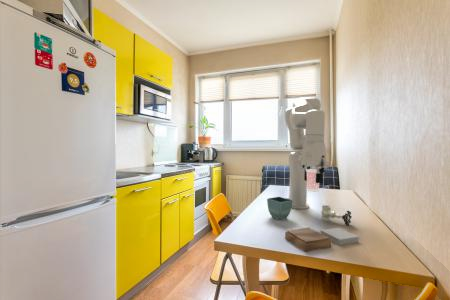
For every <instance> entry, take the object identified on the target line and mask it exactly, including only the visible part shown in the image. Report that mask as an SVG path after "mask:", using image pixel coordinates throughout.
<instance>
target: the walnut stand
mask: <svg viewBox="0 0 450 300" xmlns="http://www.w3.org/2000/svg"><path fill="white" fill-rule="evenodd" d="M284 233H285V234H284V236H285V237H284V239H285V240H287V241H289V242H291V243H292V244H293V245H294V246H296V247H298V248H299V249H301V250H302V251H304V252H307V253H308V252H311V251H316V250H317V251H318V250H322V249H327V248H331V247H332V241H331V240H330V239H329V238H328V237H326V236H324V235H323V234H321V232H319V231H316V230H315V229H313V228H310V227H303V228H296V229H289V230H287V231H285V232H284Z"/></svg>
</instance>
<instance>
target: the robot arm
mask: <svg viewBox="0 0 450 300" xmlns="http://www.w3.org/2000/svg"><path fill="white" fill-rule="evenodd" d="M321 107H322V103H321V100H320V99H319V98H318V97H300V98H299V97H298V98H297V99H295V100H294V101H293V103H292V107H288V108H287V109H286V110H285V113H284V120H285V123H286V127H287V129H288V132H289V145H290V149H291V150H292V152H290V153H289V155H288V167H289V189H288V190H289V192H288V196H287V197H285V198H286V199H290V200H293V201H292V207H291V209H295V210H296V209H297V210H307V209H309V208H310V204H308V203H307V201H308V199H307V197H308V195H307V194H308V191H307V172H306V169H313V166H314V169H316V170H317V173H316V183H319V184H323V182H324V177H323V176H324V174H325V172H326V171H327V169H328V168H329V167H330V164H329V162H328V161H327V150H326V143H325V124H326V123H325V121H326V120H325V119H326V113H325V111H324V110H321Z"/></svg>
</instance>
